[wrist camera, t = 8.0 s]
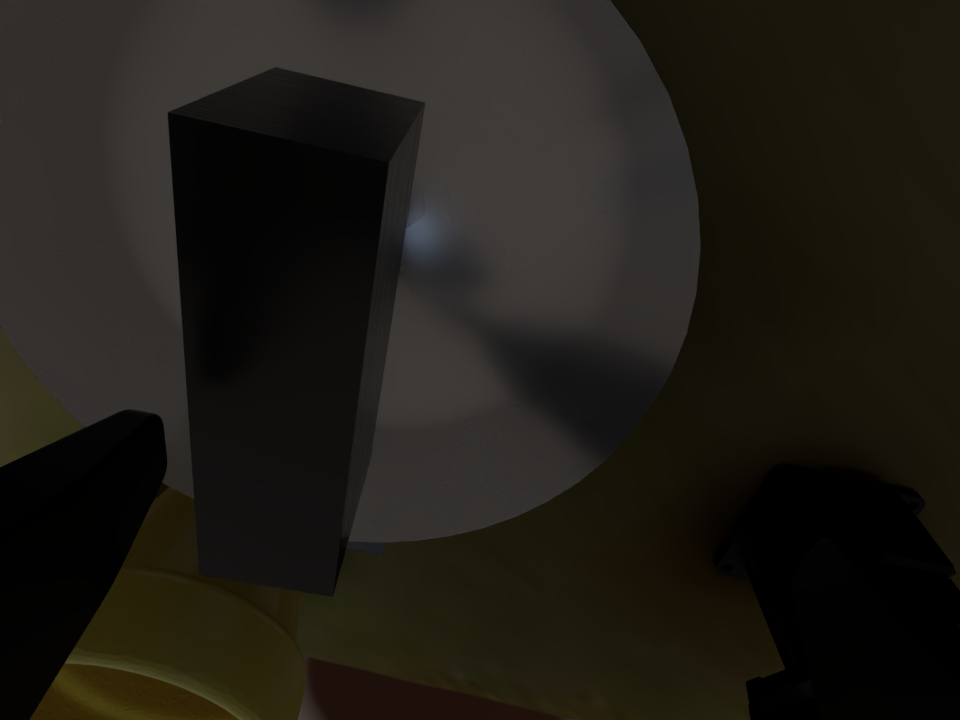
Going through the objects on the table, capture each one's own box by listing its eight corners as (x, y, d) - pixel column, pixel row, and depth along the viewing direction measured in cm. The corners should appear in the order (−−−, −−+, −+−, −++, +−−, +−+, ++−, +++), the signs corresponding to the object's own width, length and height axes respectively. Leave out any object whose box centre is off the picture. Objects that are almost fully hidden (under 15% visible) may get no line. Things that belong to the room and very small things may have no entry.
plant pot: (105, 409, 24) (-102, 636, 16) (360, 459, 25) (289, 696, 17) (129, 570, 30) (-15, 799, 21) (336, 605, 31) (275, 836, 22)
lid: (567, 545, 17) (586, 721, 13) (59, 455, 16) (-92, 620, 12) (822, -24, 10) (1056, -21, 5) (-111, -278, 8) (-692, -511, 4)
